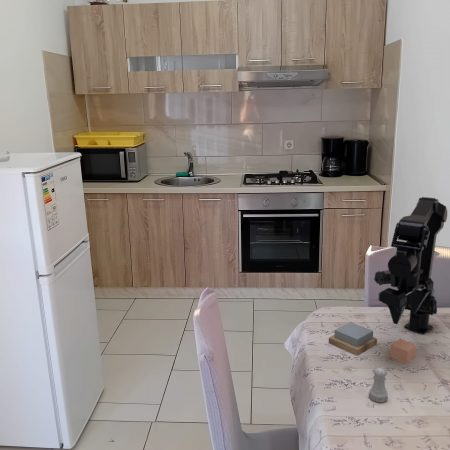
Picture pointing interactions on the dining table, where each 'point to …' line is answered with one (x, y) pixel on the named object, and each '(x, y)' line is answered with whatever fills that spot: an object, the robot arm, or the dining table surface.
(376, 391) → the grey chess pawn
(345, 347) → the walnut base block
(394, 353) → the terracotta block
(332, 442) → the dining table surface
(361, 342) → the slate top block
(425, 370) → the dining table surface
